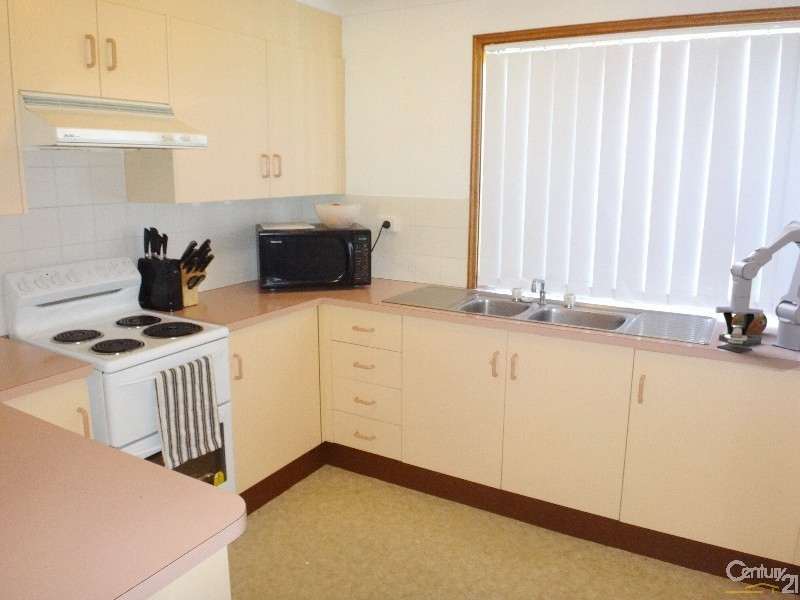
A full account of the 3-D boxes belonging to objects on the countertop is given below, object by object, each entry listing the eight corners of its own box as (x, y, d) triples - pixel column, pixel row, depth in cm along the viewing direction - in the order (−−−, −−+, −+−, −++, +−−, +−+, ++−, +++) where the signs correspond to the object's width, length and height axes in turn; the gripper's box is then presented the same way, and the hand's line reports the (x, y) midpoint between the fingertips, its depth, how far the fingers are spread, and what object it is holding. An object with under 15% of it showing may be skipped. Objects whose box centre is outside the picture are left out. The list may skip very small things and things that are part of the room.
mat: (752, 350, 226) (752, 348, 226) (738, 353, 222) (738, 351, 222) (730, 344, 232) (730, 343, 232) (717, 347, 228) (717, 346, 228)
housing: (761, 343, 235) (761, 337, 235) (744, 346, 230) (745, 341, 230) (734, 336, 244) (735, 331, 243) (718, 340, 239) (719, 334, 238)
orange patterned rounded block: (734, 335, 246) (736, 314, 244) (727, 333, 249) (730, 312, 247) (766, 333, 250) (769, 312, 248) (760, 331, 253) (762, 310, 251)
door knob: (751, 344, 226) (753, 327, 224) (738, 347, 222) (740, 330, 221) (731, 339, 232) (733, 322, 230) (719, 342, 228) (721, 325, 227)
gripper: (762, 295, 225) (757, 333, 228) (716, 292, 229) (711, 329, 232) (766, 299, 218) (761, 338, 221) (719, 296, 223) (714, 334, 225)
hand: (736, 334), depth 226 cm, fingers closed on door knob, 4 cm apart
